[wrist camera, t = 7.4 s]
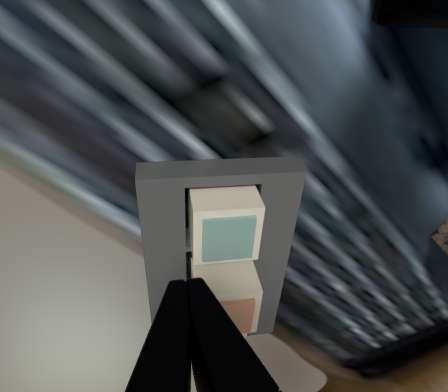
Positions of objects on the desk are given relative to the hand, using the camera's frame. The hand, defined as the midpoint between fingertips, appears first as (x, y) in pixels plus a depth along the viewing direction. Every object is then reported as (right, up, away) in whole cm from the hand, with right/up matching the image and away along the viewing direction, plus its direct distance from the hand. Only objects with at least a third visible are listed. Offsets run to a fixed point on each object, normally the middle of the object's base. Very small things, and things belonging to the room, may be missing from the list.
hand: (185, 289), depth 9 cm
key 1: (+1, +2, +14) cm, 14 cm away
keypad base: (0, -2, +17) cm, 17 cm away
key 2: (+1, -3, +15) cm, 15 cm away
